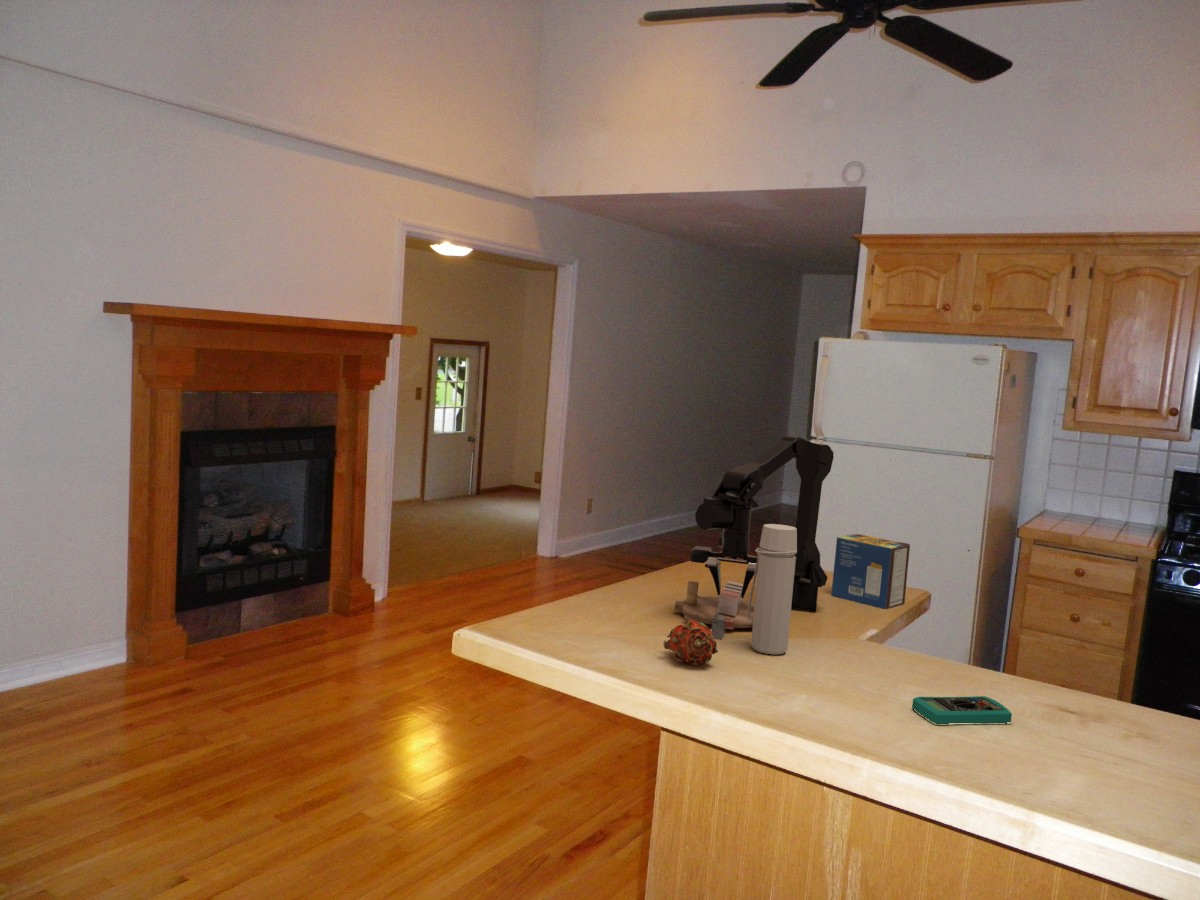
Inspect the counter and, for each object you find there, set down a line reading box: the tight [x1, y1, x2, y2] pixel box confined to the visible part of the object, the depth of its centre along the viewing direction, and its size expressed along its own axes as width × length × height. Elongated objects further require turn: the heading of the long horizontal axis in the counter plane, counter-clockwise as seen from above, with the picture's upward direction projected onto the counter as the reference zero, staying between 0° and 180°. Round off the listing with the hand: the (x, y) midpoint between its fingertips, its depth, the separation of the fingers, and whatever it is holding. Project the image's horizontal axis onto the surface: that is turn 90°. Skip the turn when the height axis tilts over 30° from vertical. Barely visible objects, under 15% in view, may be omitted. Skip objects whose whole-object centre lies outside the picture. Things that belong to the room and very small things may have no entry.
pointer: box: [711, 614, 726, 640], centre depth 187 cm, size 2×5×4 cm, turn 165°
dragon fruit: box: [663, 620, 719, 667], centre depth 169 cm, size 8×8×12 cm
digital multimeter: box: [911, 695, 1013, 724], centre depth 150 cm, size 7×15×3 cm, turn 103°
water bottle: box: [748, 523, 797, 656], centre depth 179 cm, size 9×8×25 cm
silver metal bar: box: [717, 580, 744, 616], centre depth 201 cm, size 4×16×4 cm, turn 165°
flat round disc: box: [674, 580, 755, 630], centre depth 201 cm, size 23×23×6 cm
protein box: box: [830, 533, 911, 610], centre depth 229 cm, size 10×15×16 cm
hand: (730, 596), depth 201 cm, fingers open, 5 cm apart
